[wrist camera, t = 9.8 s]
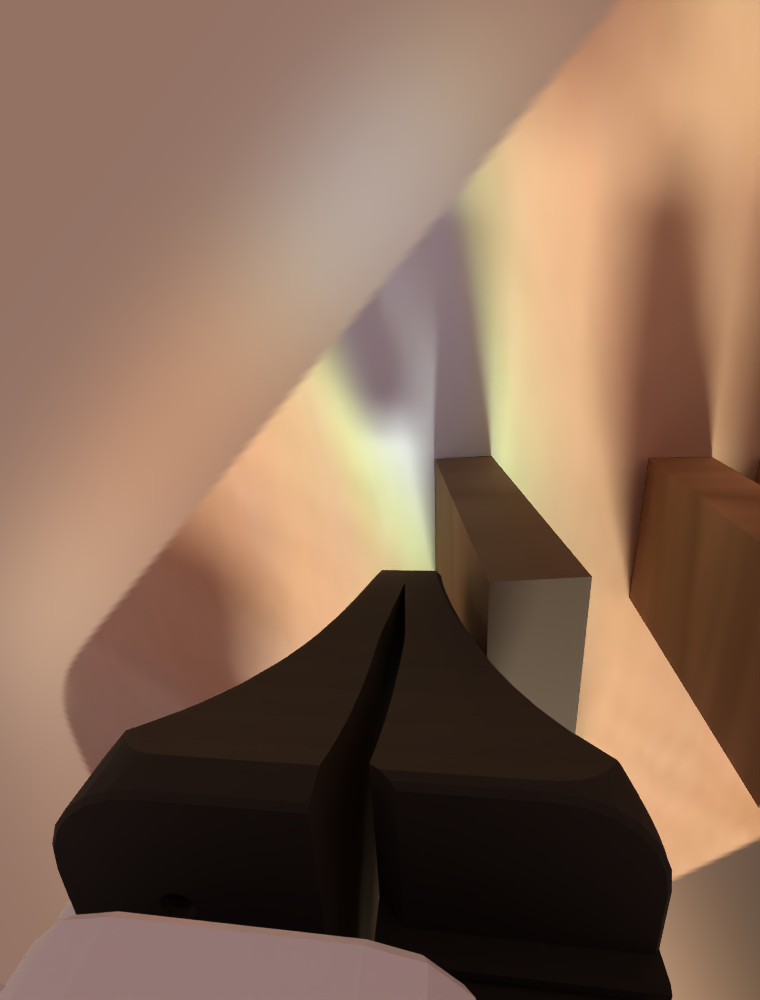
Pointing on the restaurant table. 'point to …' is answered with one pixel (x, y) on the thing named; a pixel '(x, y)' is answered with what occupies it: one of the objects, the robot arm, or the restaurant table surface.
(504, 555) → the tile
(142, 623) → the restaurant table surface
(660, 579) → the tile
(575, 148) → the restaurant table surface
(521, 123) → the restaurant table surface
